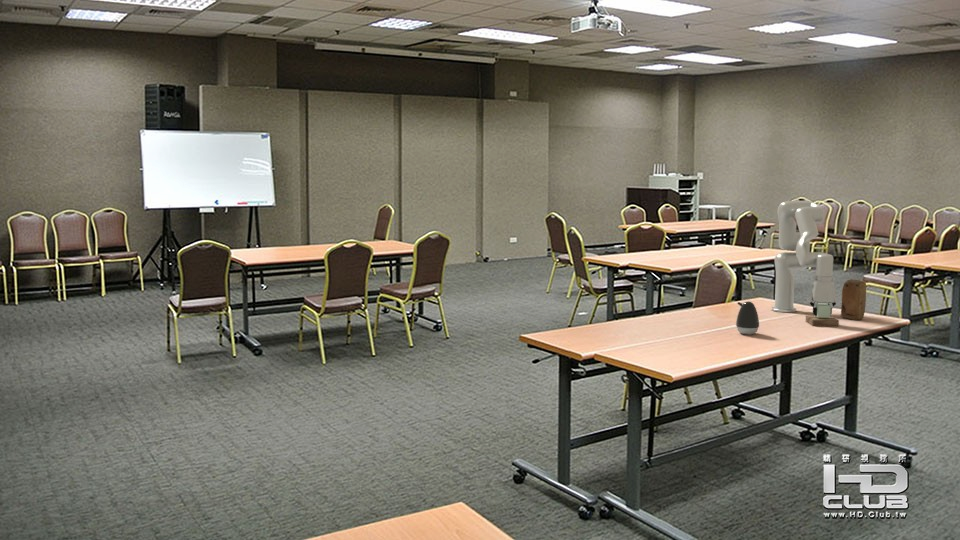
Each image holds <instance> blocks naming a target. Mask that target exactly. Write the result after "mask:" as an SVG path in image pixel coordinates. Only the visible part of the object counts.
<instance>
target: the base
mask: <svg viewBox="0 0 960 540" xmlns="http://www.w3.org/2000/svg"><path fill="white" fill-rule="evenodd" d="M805 323H806V324H809V325H810V326H812V327H836V328H838V327H839V325H840V324H839V323H840V320H839V319H836V318H835V317H833V316H830V318H818V317H816V316H814V315H805Z"/></svg>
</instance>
